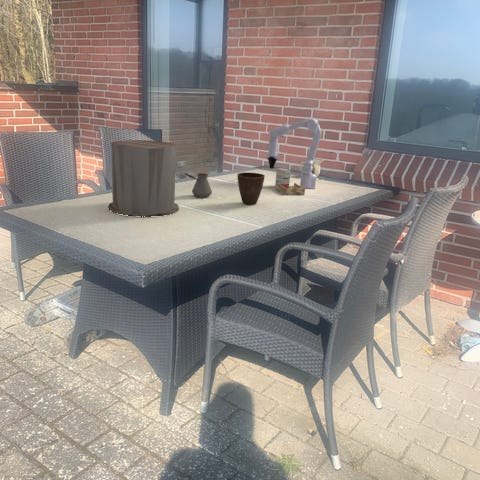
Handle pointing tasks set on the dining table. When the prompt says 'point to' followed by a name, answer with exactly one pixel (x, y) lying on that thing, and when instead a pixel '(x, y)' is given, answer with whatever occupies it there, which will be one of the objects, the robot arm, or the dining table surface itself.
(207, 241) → the dining table surface
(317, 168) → the pitcher
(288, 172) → the ink box
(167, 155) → the storage basket
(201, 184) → the coffee pot
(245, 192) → the plant pot
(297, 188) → the pine u-shaped frame
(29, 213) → the dining table surface
